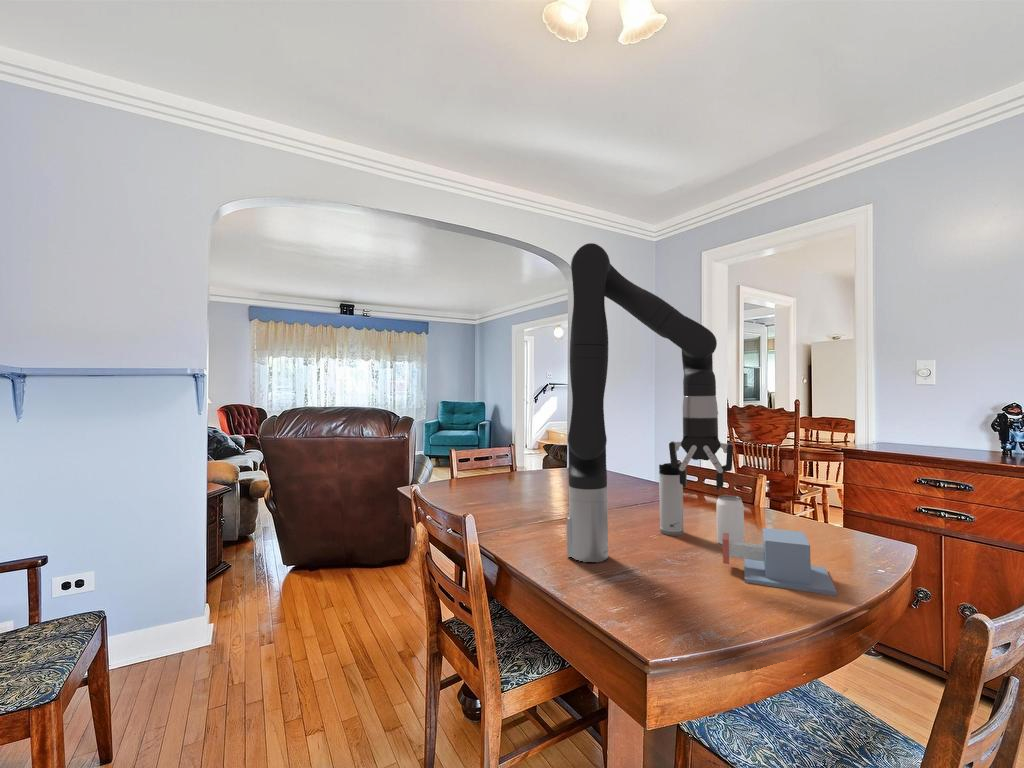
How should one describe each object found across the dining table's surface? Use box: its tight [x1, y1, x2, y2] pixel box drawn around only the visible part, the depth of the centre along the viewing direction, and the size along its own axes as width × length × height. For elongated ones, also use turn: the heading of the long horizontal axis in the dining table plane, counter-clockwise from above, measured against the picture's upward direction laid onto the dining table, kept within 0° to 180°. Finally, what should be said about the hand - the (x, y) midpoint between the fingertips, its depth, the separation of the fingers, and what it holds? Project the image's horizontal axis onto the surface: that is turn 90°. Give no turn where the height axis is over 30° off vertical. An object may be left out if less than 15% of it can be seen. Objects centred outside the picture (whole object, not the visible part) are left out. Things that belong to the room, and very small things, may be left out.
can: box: [715, 494, 745, 546], centre depth 123 cm, size 6×6×12 cm
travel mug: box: [658, 462, 685, 537], centre depth 133 cm, size 6×7×20 cm
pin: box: [722, 533, 765, 565], centre depth 103 cm, size 13×5×5 cm, turn 64°
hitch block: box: [743, 527, 838, 597], centre depth 101 cm, size 16×14×9 cm
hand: (701, 487), depth 108 cm, fingers open, 6 cm apart
